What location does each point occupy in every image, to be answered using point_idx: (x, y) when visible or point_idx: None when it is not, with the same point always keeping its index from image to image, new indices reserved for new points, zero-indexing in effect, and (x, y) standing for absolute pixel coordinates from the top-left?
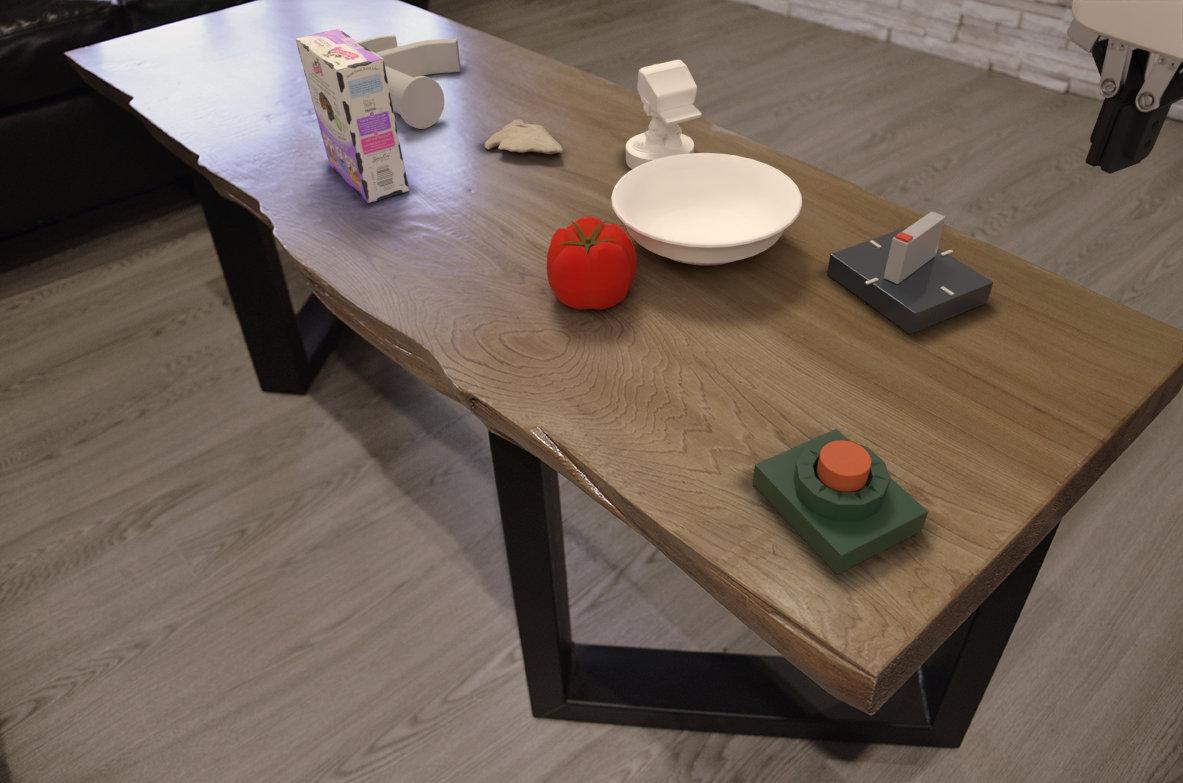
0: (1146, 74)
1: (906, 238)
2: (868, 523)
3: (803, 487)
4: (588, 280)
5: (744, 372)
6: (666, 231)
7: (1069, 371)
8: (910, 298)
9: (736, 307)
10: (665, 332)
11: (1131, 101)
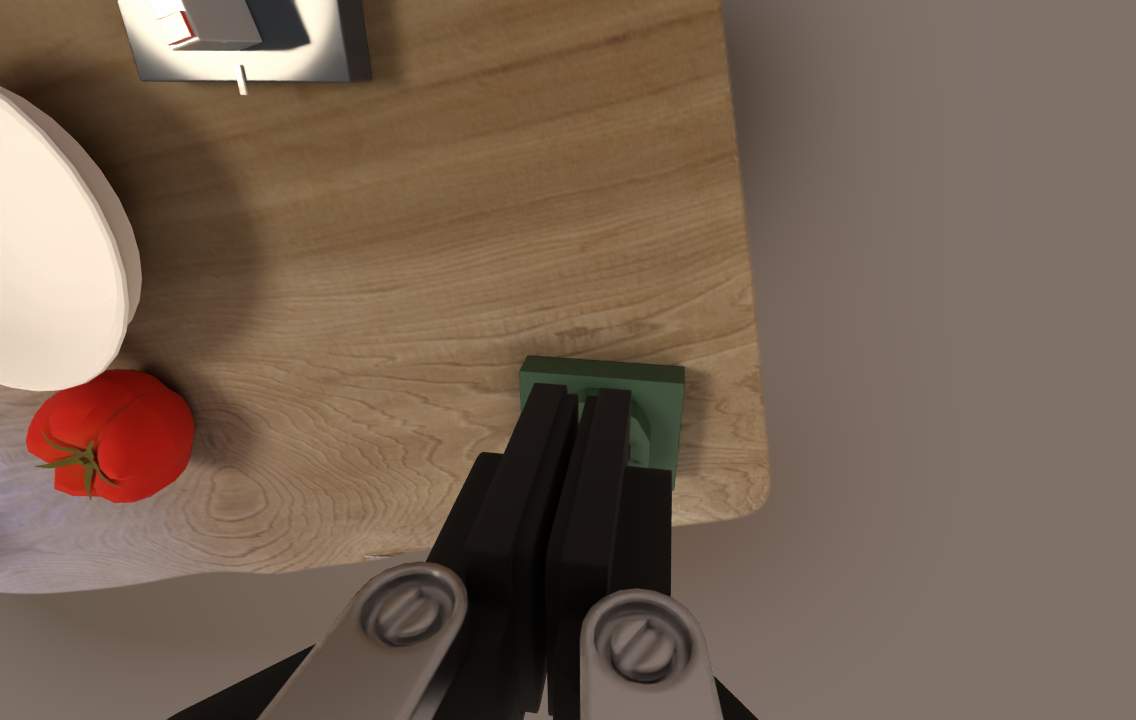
0: (449, 679)
1: (183, 31)
2: (657, 444)
3: None
4: (161, 472)
5: (362, 349)
6: (14, 247)
7: None
8: (308, 54)
9: (226, 269)
10: (254, 378)
11: (528, 667)
